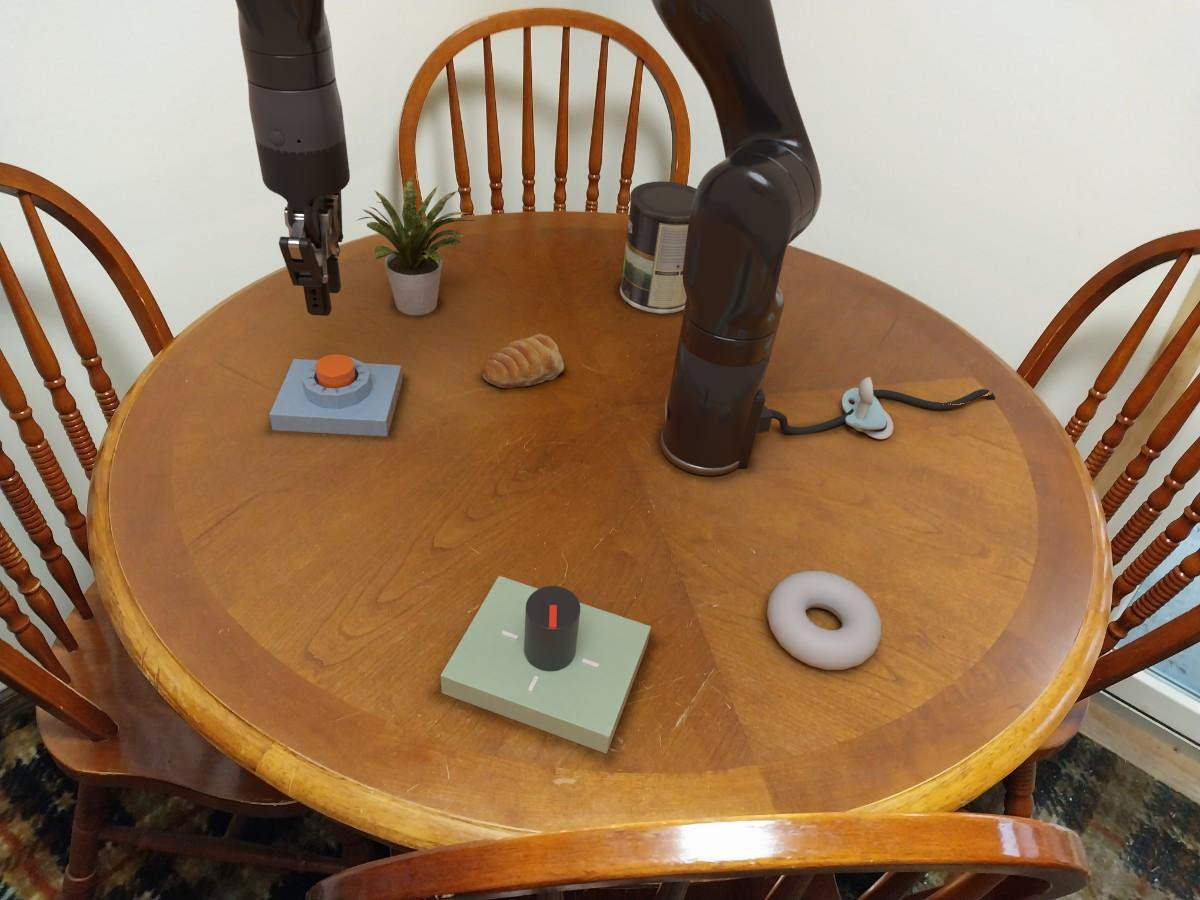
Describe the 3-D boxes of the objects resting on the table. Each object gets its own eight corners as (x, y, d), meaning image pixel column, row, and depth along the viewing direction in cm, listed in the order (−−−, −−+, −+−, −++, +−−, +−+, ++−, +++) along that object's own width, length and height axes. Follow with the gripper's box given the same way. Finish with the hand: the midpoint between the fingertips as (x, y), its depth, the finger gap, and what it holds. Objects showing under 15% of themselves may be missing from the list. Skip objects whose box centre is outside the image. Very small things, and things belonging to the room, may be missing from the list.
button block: (402, 380, 98) (400, 352, 95) (387, 436, 90) (384, 407, 87) (296, 374, 97) (291, 345, 94) (272, 430, 89) (265, 400, 87)
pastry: (502, 401, 96) (502, 374, 94) (470, 371, 100) (470, 345, 98) (568, 375, 101) (570, 348, 99) (535, 348, 105) (536, 321, 102)
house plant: (420, 354, 102) (412, 229, 91) (333, 316, 106) (315, 192, 95) (490, 304, 111) (490, 186, 101) (407, 271, 116) (399, 154, 105)
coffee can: (610, 303, 114) (620, 205, 105) (631, 269, 122) (643, 174, 112) (683, 321, 112) (701, 223, 103) (701, 285, 120) (718, 190, 110)
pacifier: (885, 408, 102) (836, 401, 102) (903, 366, 98) (852, 358, 98) (896, 447, 96) (844, 440, 96) (916, 405, 92) (862, 397, 92)
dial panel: (647, 643, 73) (651, 624, 71) (606, 754, 65) (609, 735, 63) (498, 593, 76) (498, 574, 74) (441, 693, 68) (440, 674, 66)
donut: (839, 700, 70) (895, 629, 76) (851, 677, 68) (907, 606, 74) (741, 630, 75) (800, 568, 81) (748, 606, 73) (809, 544, 79)
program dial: (525, 627, 70) (527, 582, 66) (575, 629, 70) (580, 584, 66) (522, 670, 67) (524, 625, 63) (575, 672, 67) (580, 627, 63)
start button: (359, 368, 93) (357, 355, 92) (351, 390, 90) (349, 377, 89) (322, 366, 92) (319, 352, 91) (313, 388, 89) (310, 374, 88)
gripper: (325, 167, 68) (348, 344, 80) (360, 105, 79) (376, 269, 90) (229, 160, 68) (267, 339, 79) (277, 98, 79) (304, 264, 90)
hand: (325, 301), depth 85 cm, fingers open, 3 cm apart
